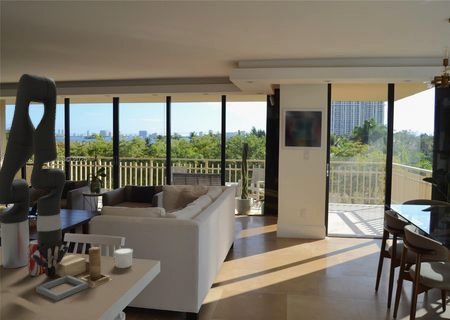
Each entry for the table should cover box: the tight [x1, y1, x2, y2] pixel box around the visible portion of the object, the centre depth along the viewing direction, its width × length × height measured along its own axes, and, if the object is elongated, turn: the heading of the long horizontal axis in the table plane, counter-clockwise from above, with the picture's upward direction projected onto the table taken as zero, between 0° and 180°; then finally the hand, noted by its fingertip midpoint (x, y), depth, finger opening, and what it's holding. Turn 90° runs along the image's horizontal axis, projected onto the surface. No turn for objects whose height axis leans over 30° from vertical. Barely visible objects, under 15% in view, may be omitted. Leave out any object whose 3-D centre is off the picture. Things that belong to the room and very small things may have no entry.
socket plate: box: [79, 272, 113, 289], centre depth 121 cm, size 8×8×3 cm
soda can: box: [27, 238, 45, 277], centre depth 130 cm, size 7×7×12 cm
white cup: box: [113, 247, 134, 269], centre depth 135 cm, size 7×7×7 cm
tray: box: [35, 275, 89, 302], centre depth 114 cm, size 11×11×3 cm
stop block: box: [72, 253, 89, 273], centre depth 133 cm, size 12×3×5 cm, turn 57°
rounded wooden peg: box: [88, 246, 102, 282], centre depth 121 cm, size 4×4×11 cm
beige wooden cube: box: [54, 254, 87, 278], centre depth 128 cm, size 8×8×6 cm
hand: (50, 276), depth 123 cm, fingers closed
